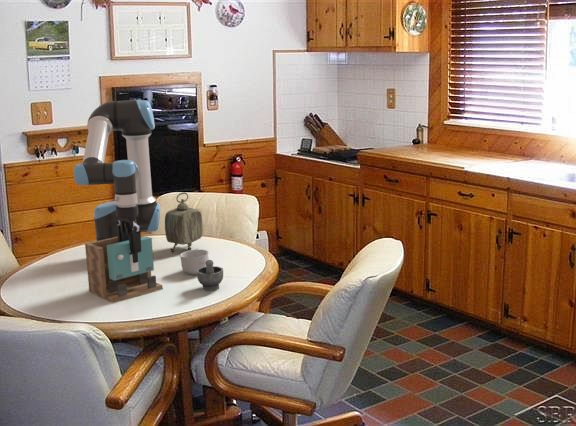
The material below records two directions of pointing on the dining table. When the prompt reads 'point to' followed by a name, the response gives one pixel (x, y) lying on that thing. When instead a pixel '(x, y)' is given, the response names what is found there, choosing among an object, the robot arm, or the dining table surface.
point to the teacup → (193, 260)
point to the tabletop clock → (183, 224)
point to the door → (121, 259)
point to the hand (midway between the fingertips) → (131, 269)
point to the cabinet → (105, 285)
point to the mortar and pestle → (210, 276)
